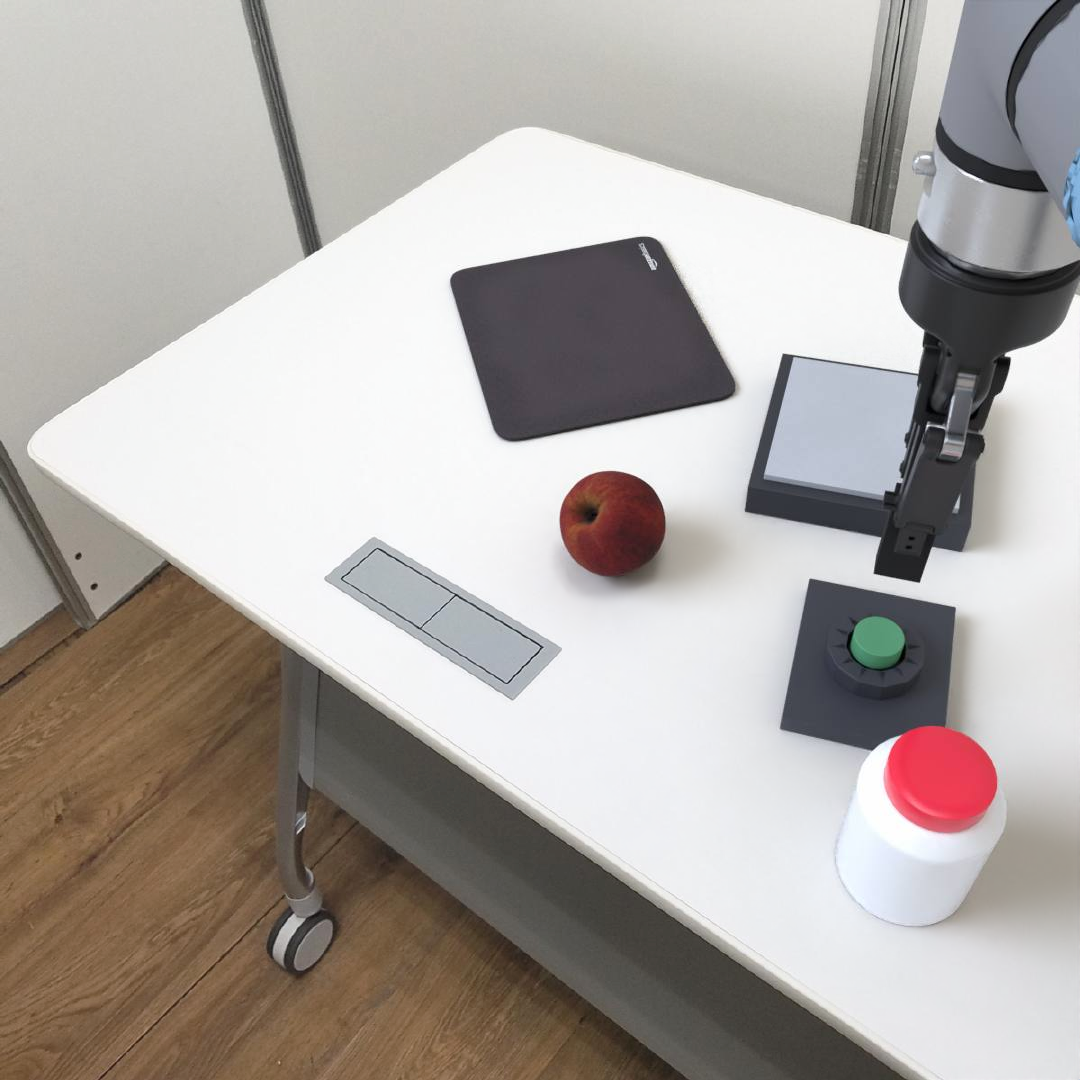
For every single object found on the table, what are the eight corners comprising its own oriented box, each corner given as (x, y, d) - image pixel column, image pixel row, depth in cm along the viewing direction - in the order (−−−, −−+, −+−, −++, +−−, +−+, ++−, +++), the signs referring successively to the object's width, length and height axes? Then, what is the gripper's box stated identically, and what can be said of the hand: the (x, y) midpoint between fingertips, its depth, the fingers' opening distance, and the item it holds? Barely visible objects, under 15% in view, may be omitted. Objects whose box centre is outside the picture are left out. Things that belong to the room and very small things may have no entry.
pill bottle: (942, 952, 62) (992, 868, 53) (813, 883, 65) (842, 793, 56) (987, 842, 66) (1040, 748, 57) (864, 782, 69) (898, 684, 60)
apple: (547, 536, 84) (541, 462, 78) (641, 508, 85) (643, 433, 79) (581, 608, 79) (578, 535, 73) (680, 577, 80) (685, 503, 74)
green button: (897, 674, 71) (902, 660, 69) (847, 663, 71) (851, 650, 70) (902, 635, 73) (907, 621, 71) (853, 625, 73) (857, 611, 72)
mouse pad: (741, 395, 93) (742, 393, 92) (498, 444, 90) (497, 442, 90) (655, 235, 109) (655, 233, 109) (446, 273, 106) (446, 271, 106)
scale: (961, 552, 80) (973, 521, 78) (744, 511, 84) (748, 480, 82) (974, 409, 90) (984, 377, 88) (779, 378, 94) (783, 347, 91)
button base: (938, 766, 69) (949, 741, 67) (779, 729, 71) (784, 704, 69) (951, 619, 76) (961, 592, 74) (807, 589, 79) (812, 563, 77)
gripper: (925, 146, 53) (848, 482, 71) (898, 310, 45) (819, 641, 63) (1091, 163, 51) (969, 503, 69) (1093, 337, 43) (954, 670, 61)
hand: (897, 568), depth 66 cm, fingers closed
